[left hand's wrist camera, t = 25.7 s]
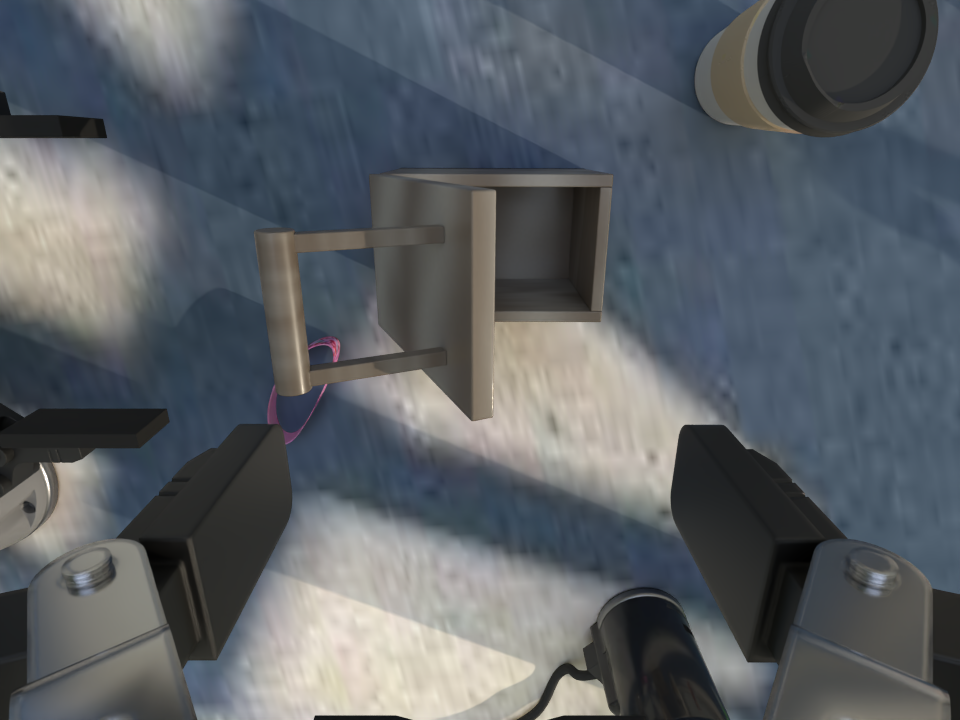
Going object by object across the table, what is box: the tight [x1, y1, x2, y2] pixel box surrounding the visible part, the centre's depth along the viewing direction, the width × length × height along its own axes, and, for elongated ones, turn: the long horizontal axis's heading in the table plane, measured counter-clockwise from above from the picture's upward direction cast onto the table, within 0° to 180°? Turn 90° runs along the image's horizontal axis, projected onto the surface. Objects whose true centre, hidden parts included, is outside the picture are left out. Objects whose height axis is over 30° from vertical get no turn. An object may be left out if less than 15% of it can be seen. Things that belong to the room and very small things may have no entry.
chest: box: [380, 168, 613, 322], centre depth 41 cm, size 14×9×11 cm, turn 90°
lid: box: [254, 174, 496, 421], centre depth 27 cm, size 15×9×8 cm
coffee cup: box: [695, 0, 938, 137], centre depth 34 cm, size 9×9×15 cm
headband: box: [268, 336, 340, 444], centre depth 49 cm, size 11×4×2 cm, turn 151°
